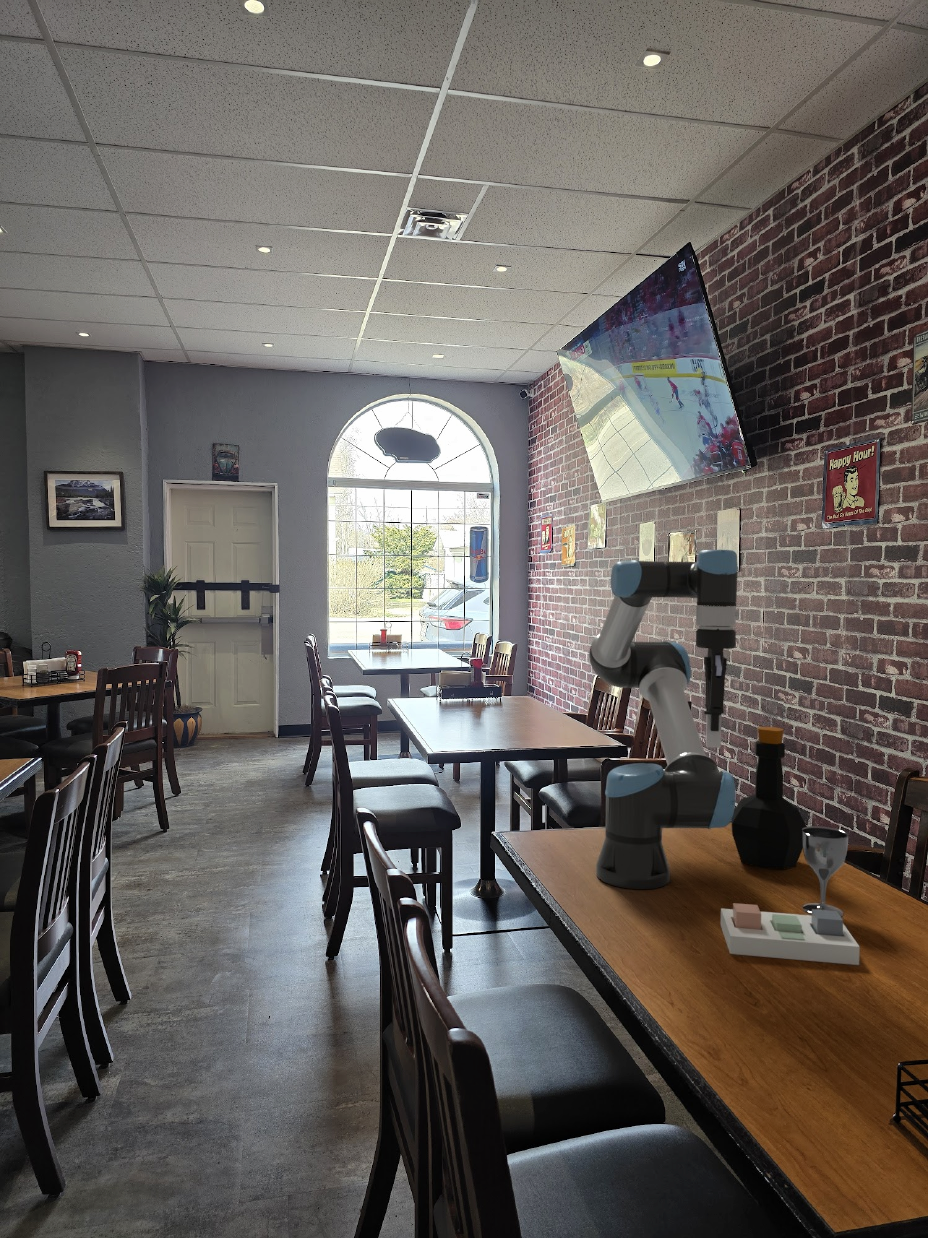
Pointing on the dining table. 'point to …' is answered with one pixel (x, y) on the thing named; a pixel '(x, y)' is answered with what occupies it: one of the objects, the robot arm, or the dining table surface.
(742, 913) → the salmon pink button
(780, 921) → the sage button
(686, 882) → the dining table surface
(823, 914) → the slate grey button
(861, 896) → the dining table surface
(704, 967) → the dining table surface
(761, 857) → the bottle
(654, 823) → the robot arm
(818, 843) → the silver goblet
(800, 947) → the button board
